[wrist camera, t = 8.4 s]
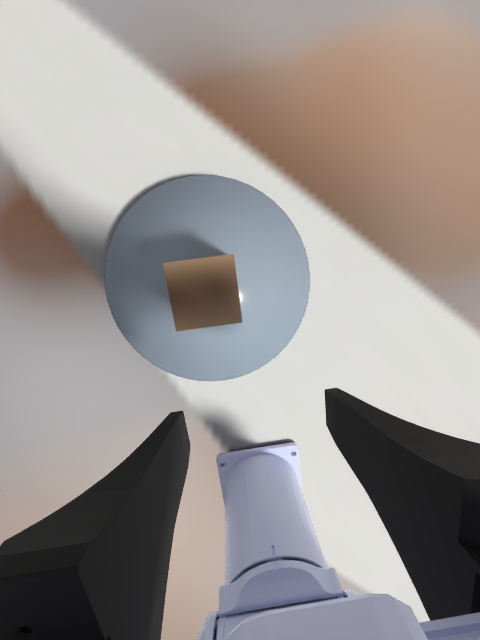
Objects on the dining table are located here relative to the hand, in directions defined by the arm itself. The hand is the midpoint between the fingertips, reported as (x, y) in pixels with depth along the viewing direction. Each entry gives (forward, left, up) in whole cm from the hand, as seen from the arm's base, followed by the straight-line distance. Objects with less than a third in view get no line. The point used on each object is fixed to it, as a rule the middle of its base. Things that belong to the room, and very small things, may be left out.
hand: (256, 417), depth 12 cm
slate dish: (+6, +2, -9) cm, 11 cm away
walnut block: (+6, +2, -8) cm, 11 cm away
